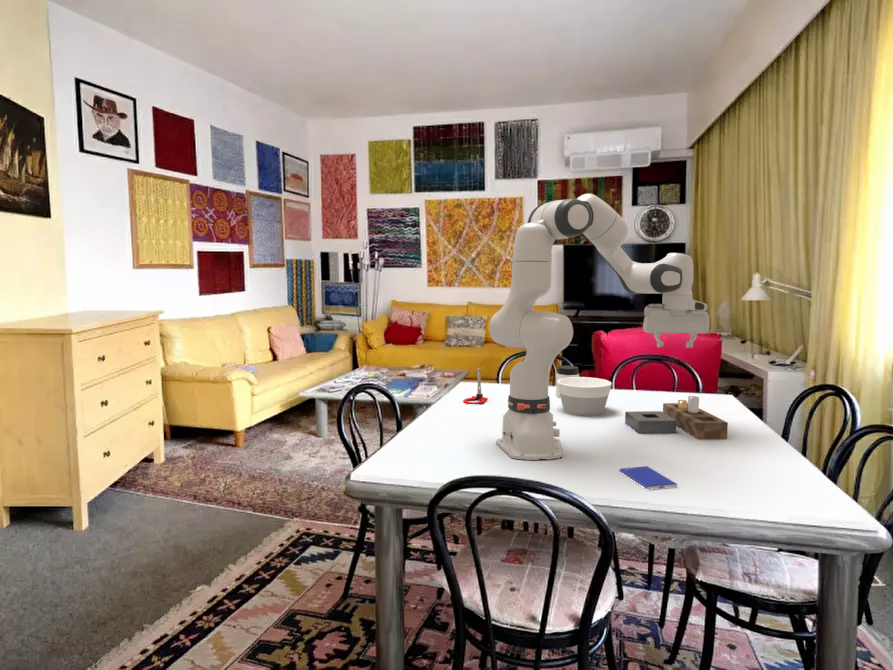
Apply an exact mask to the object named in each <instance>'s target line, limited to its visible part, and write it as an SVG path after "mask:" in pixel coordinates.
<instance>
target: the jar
mask: <svg viewBox="0 0 893 670" xmlns="http://www.w3.org/2000/svg"><path fill="white" fill-rule="evenodd" d="M556 369H557V373H555V374H556V380H555V396H556V397H557V398H560V399H561V396H560V392H559V388H558V384H557V381H558V380H559V379H562V378H568V377H580V373H579V367H578V366H575V365H559V366H557V368H556Z"/></svg>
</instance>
